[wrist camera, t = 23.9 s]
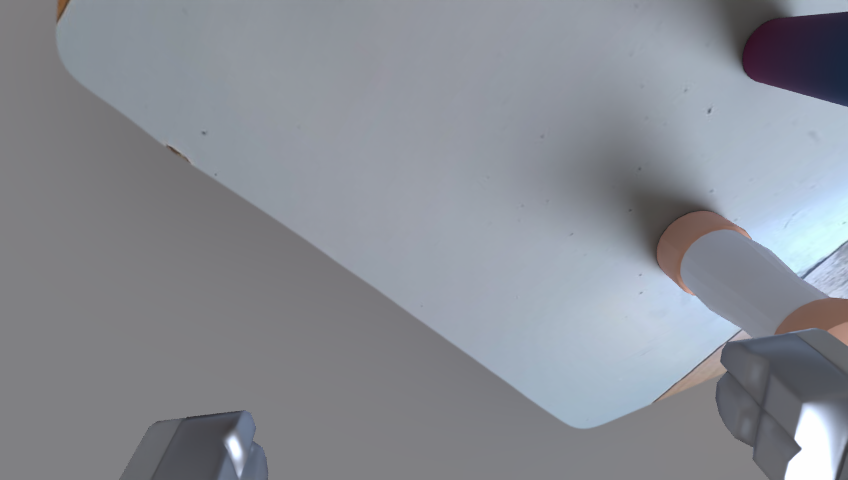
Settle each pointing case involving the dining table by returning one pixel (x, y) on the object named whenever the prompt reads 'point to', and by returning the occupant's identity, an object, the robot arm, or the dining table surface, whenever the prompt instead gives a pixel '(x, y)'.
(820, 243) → the dining table surface
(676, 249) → the pepper shaker
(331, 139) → the dining table surface
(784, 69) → the cup
